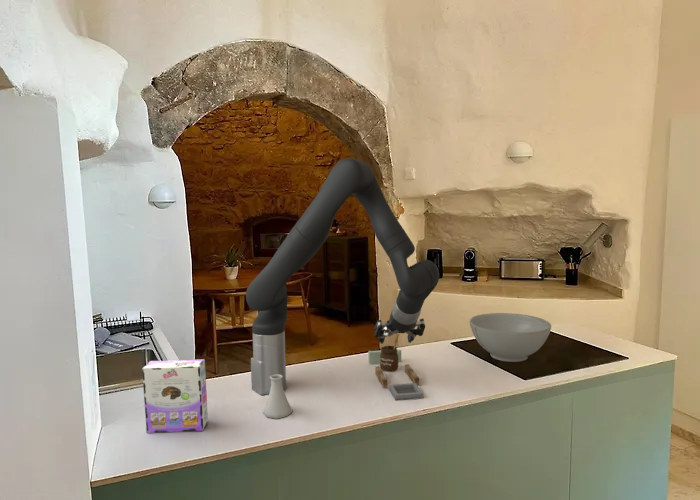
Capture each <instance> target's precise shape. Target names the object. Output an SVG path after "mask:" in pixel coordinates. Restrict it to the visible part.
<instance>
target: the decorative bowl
mask: <svg viewBox="0 0 700 500" xmlns="http://www.w3.org/2000/svg"><path fill="white" fill-rule="evenodd" d="M469 326H470V329H471V332H472V335H473V337H474V338H475V341H477V343H478V344H479V346H481V347H482V349H484V350H485V351H487V352H488V353H490V356H491V358H493V359H495V360H499V361H502V362H508V363H509V362H510V363H514V362H515V363H516V362H517V363H518V362H524V361H526V360H527V359H528V357H529V356H531V355H533V354H534V353H537V352H538V351H539V350H540V348H542V347H543V345H544V344H545V342H546V341H547V339H548V337H549V335H550V332H551V329H552V324H551V322H549V321H547V320H545V319H543V318H540V317H537V316H533V315H528V314H520V313H512V312H511V313H509V312H506V313H505V312H493V313H492V312H491V313H483V314H478V315H475V316H472V317H471V318H470V319H469Z"/></svg>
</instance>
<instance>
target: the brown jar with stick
mask: <svg viewBox="0 0 700 500" xmlns="http://www.w3.org/2000/svg"><path fill="white" fill-rule="evenodd" d="M399 336H400V333H397V334H396V336H395V338H394V342H393V343H394V346H393V345H386V343H387V342H388V341H389V338H388V337H389V336H387V337H386V339H385V340H386V341H385V340H384V342H383V344H381V345H382V346H381V348H380V350H381V354H380V364H379V367H380V369H381V370H382V372H383V371H384V372H388V373H389V372H390V373H391V372H395V371H398V369H399V362H398V354H397V349H398V348H397V347H396V345H397V343H398V341H399Z"/></svg>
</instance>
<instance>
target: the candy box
mask: <svg viewBox="0 0 700 500" xmlns="http://www.w3.org/2000/svg"><path fill="white" fill-rule="evenodd" d="M141 373H142V386H143V399H144V401H143V402H144V411H145V412H144V414H145V429H146V430H145V432H146V434H155V433H177V432H178V433H181V432H202V431H204V429H205V428H206V426H207V424H208V422H209V413H208V399H207V398H208V397H207V396H208V395H207V393H208V392H207V378H206V375H207V374H206V360H205V358H203V359H178V360H177V359H176V360H150V361H149V362H148V363H146V365H144V366H143V367H142V369H141Z"/></svg>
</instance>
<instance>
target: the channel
mask: <svg viewBox="0 0 700 500" xmlns="http://www.w3.org/2000/svg"><path fill="white" fill-rule="evenodd" d="M374 369H375V371H374V372H375V373H374V374H375V376H376V378H377V379H378V381H379V383H380V385H381V387H382V389H388V379H387V377H386V375H385V373H384V372H383V370H381V368H380V365H377V366H375V368H374ZM404 373H405V374H406V376H407V377H408V378H409V380H410V381H411V383H416V384H417V386H418V387H420V377H419V376H418V375H417V373H416V372H415V370H414V369H413V368H412V367H411V365H410V364H408V363H407V364H404Z"/></svg>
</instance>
